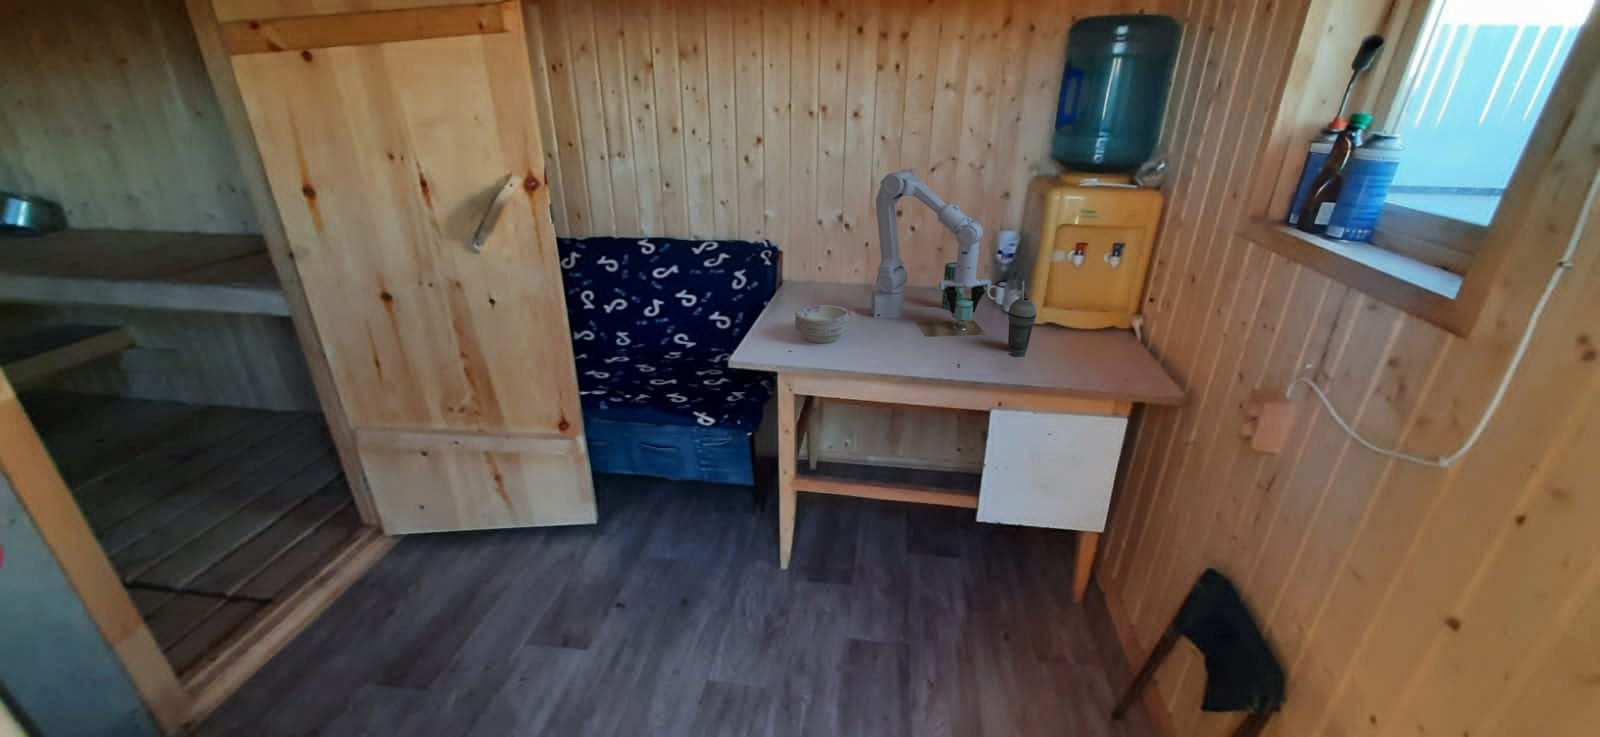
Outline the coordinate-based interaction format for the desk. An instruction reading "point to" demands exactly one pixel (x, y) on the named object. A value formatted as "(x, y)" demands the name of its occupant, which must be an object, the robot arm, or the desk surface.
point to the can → (949, 275)
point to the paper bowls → (822, 322)
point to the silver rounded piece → (960, 325)
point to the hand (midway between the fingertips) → (962, 311)
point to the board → (949, 328)
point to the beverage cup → (1020, 325)
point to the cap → (963, 309)
